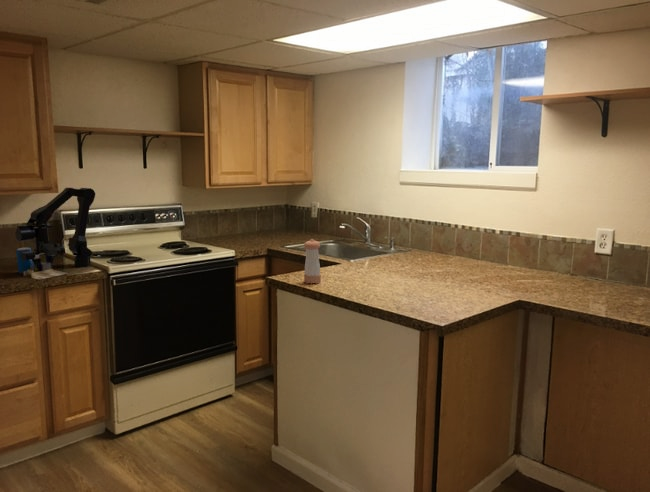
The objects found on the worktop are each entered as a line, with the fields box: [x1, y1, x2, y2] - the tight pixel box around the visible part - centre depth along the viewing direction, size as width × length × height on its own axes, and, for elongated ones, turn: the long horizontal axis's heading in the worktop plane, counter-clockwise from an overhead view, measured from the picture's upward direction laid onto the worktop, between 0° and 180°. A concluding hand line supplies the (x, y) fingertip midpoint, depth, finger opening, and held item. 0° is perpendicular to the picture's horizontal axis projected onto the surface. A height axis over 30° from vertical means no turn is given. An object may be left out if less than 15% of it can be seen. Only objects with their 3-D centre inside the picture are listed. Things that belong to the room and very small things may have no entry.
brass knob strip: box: [24, 269, 34, 278], centre depth 251 cm, size 2×5×3 cm, turn 57°
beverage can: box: [16, 247, 35, 274], centre depth 260 cm, size 6×6×12 cm
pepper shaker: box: [303, 238, 322, 284], centre depth 242 cm, size 7×7×19 cm
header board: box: [22, 268, 69, 280], centre depth 255 cm, size 14×13×3 cm
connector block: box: [38, 261, 52, 272], centre depth 257 cm, size 4×4×4 cm
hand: (44, 271), depth 257 cm, fingers closed on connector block, 4 cm apart
